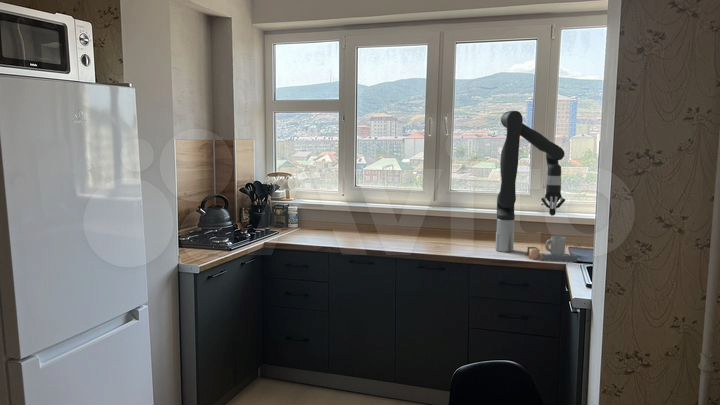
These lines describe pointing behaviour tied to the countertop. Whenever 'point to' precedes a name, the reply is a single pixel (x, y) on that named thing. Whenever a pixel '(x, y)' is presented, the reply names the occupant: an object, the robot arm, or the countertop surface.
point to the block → (529, 248)
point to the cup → (556, 245)
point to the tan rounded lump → (534, 253)
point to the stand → (559, 257)
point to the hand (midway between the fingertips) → (552, 215)
